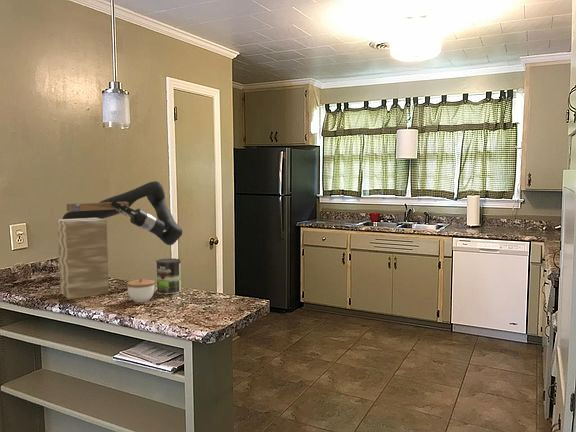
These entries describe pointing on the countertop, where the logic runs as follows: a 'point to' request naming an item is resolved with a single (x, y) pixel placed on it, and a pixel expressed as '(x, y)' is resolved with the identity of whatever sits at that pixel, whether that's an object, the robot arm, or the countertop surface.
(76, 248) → the stand
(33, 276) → the countertop surface
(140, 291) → the lidded jar
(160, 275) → the coffee can
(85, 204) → the tan wooden plank
